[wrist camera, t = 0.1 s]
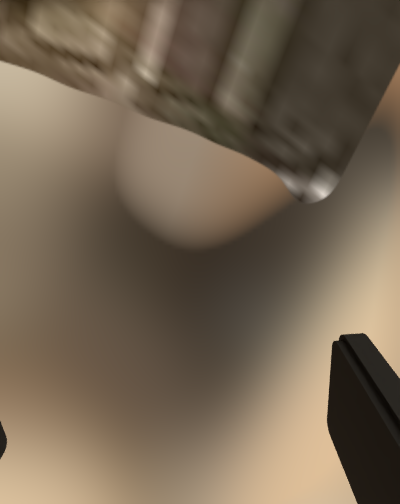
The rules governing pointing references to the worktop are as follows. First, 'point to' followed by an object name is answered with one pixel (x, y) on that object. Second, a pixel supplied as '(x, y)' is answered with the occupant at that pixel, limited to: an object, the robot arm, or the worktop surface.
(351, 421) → the robot arm
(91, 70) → the worktop surface
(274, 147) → the worktop surface
